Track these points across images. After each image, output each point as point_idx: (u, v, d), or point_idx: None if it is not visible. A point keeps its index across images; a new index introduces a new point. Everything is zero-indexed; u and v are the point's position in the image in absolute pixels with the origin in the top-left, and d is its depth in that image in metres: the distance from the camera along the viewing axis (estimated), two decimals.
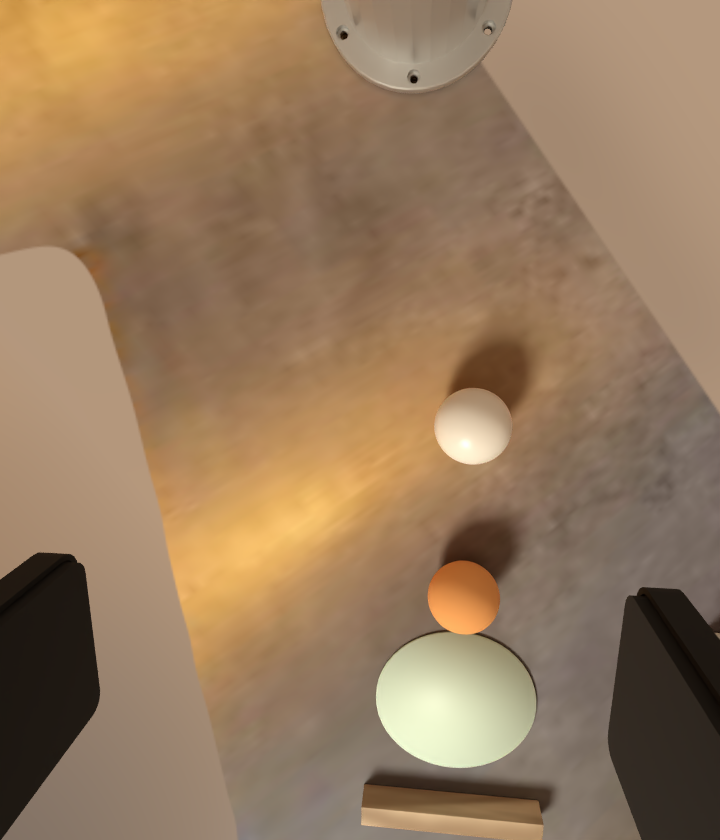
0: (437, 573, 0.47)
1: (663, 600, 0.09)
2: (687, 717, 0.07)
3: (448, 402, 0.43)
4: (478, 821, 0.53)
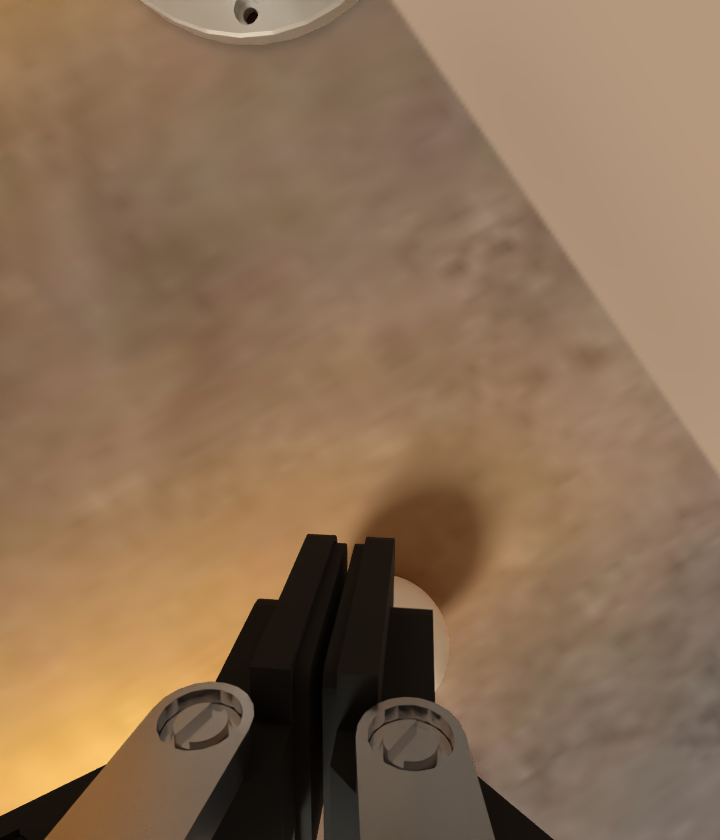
0: None
1: (372, 546, 0.10)
2: None
3: None
4: None
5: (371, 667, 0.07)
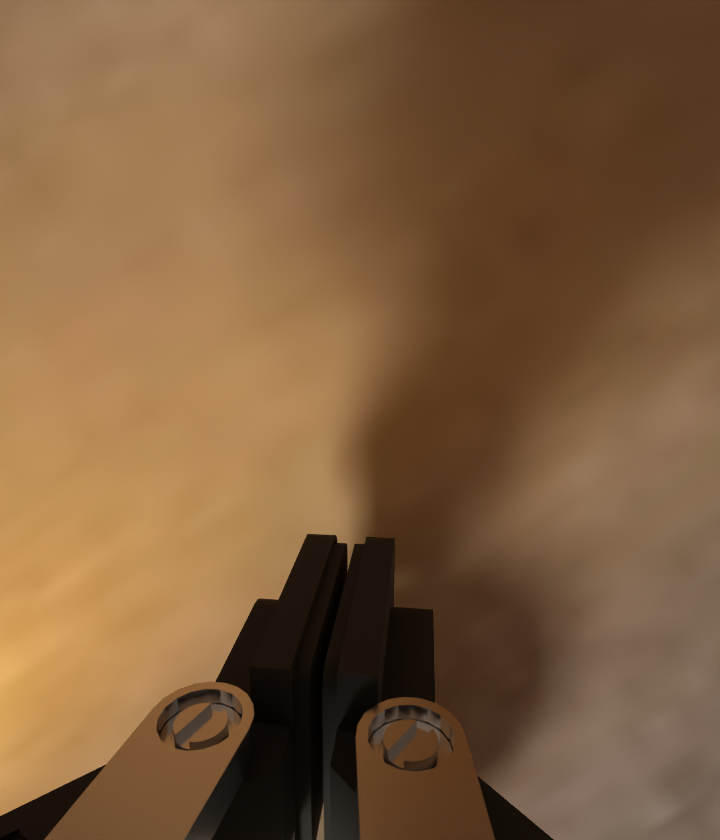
0: None
1: (372, 546, 0.10)
2: None
3: None
4: None
5: (371, 666, 0.07)
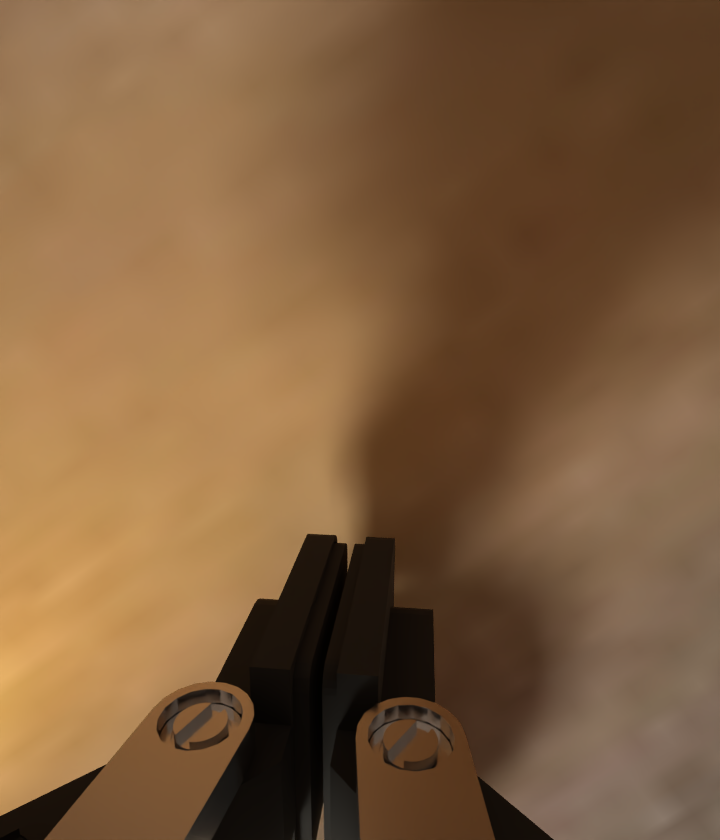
0: None
1: (372, 546, 0.10)
2: None
3: None
4: None
5: (371, 668, 0.07)
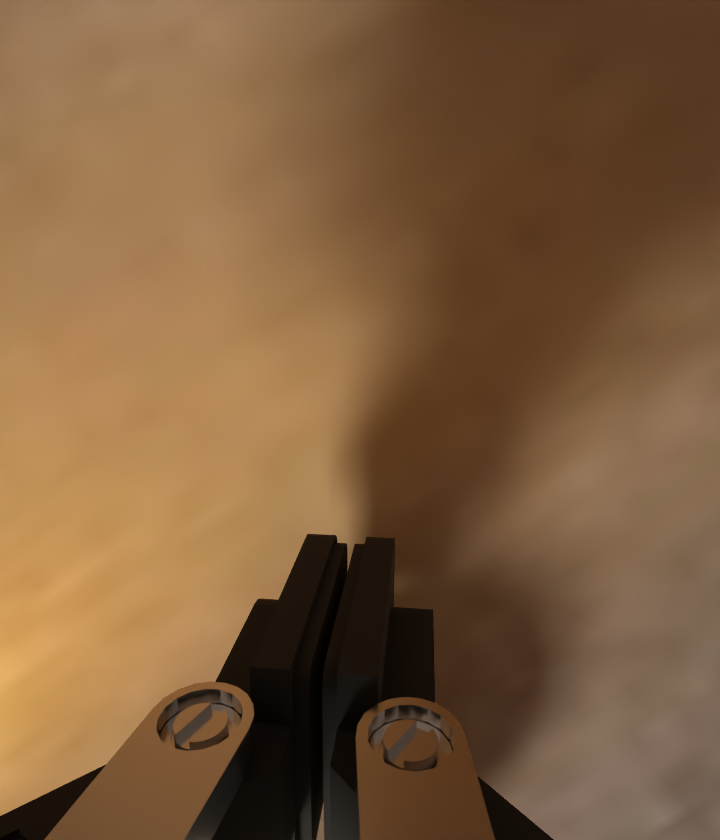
0: None
1: (372, 546, 0.10)
2: None
3: None
4: None
5: (371, 668, 0.07)
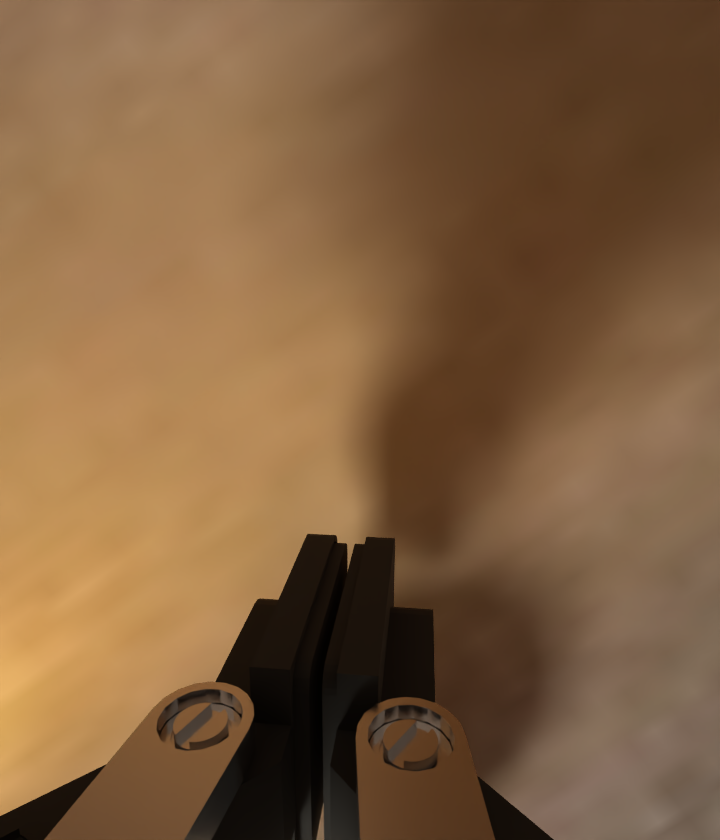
0: None
1: (372, 546, 0.10)
2: None
3: None
4: None
5: (371, 668, 0.07)
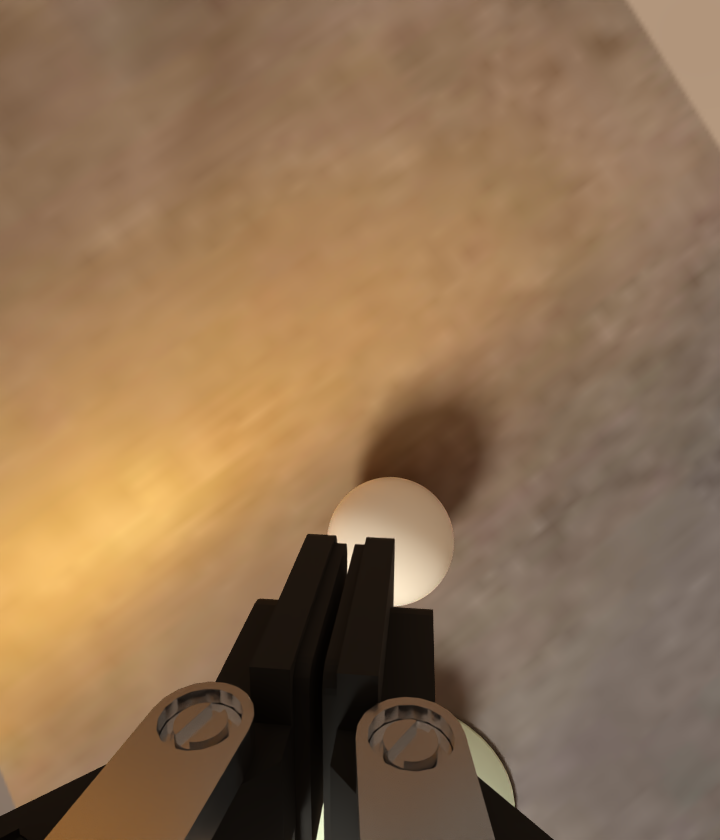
0: None
1: (372, 546, 0.10)
2: None
3: None
4: None
5: (371, 667, 0.07)
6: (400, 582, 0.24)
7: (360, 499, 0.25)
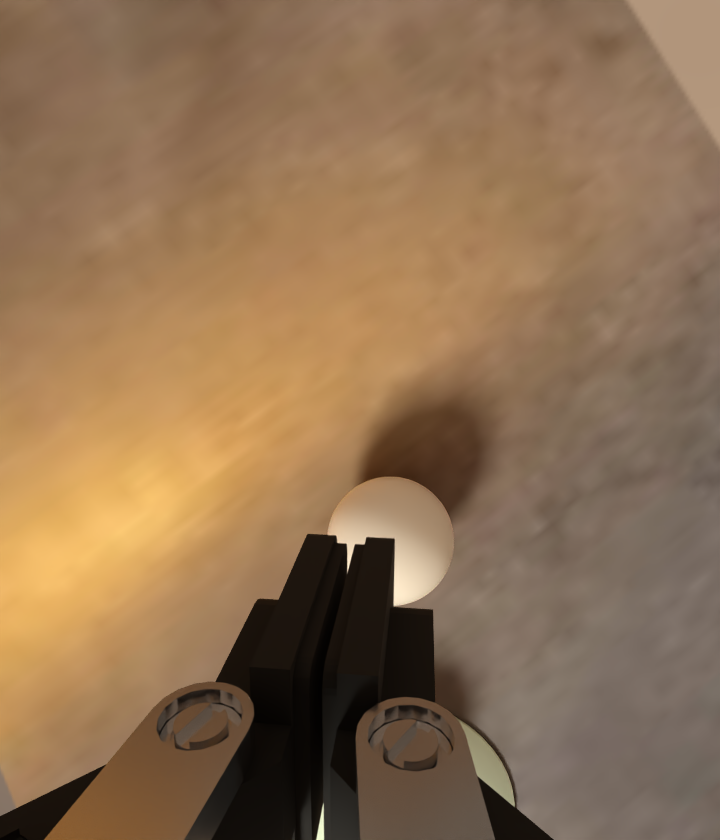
0: None
1: (372, 546, 0.10)
2: None
3: None
4: None
5: (371, 667, 0.07)
6: (400, 581, 0.24)
7: (360, 499, 0.25)
